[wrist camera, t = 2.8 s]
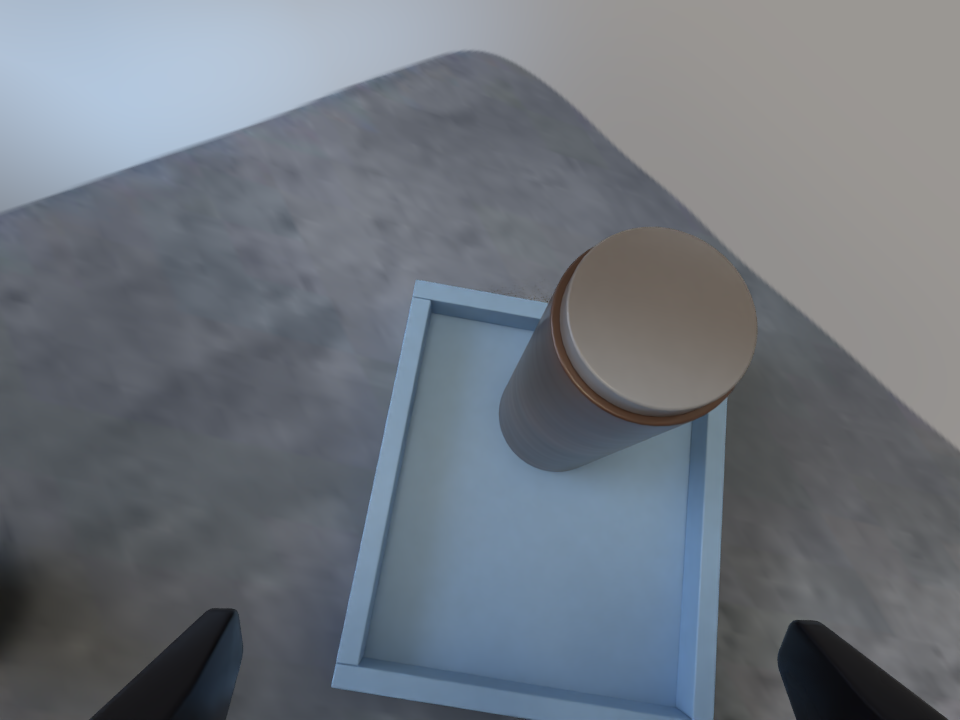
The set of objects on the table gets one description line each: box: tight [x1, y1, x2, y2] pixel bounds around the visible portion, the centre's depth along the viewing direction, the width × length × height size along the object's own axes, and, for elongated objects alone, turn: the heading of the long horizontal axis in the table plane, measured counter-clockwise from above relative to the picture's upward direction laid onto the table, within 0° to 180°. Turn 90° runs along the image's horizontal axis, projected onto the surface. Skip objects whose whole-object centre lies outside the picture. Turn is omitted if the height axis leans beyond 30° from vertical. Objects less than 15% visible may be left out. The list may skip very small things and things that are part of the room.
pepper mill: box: [499, 227, 757, 472], centre depth 19 cm, size 5×5×12 cm
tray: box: [331, 280, 727, 720], centre depth 24 cm, size 16×14×2 cm
